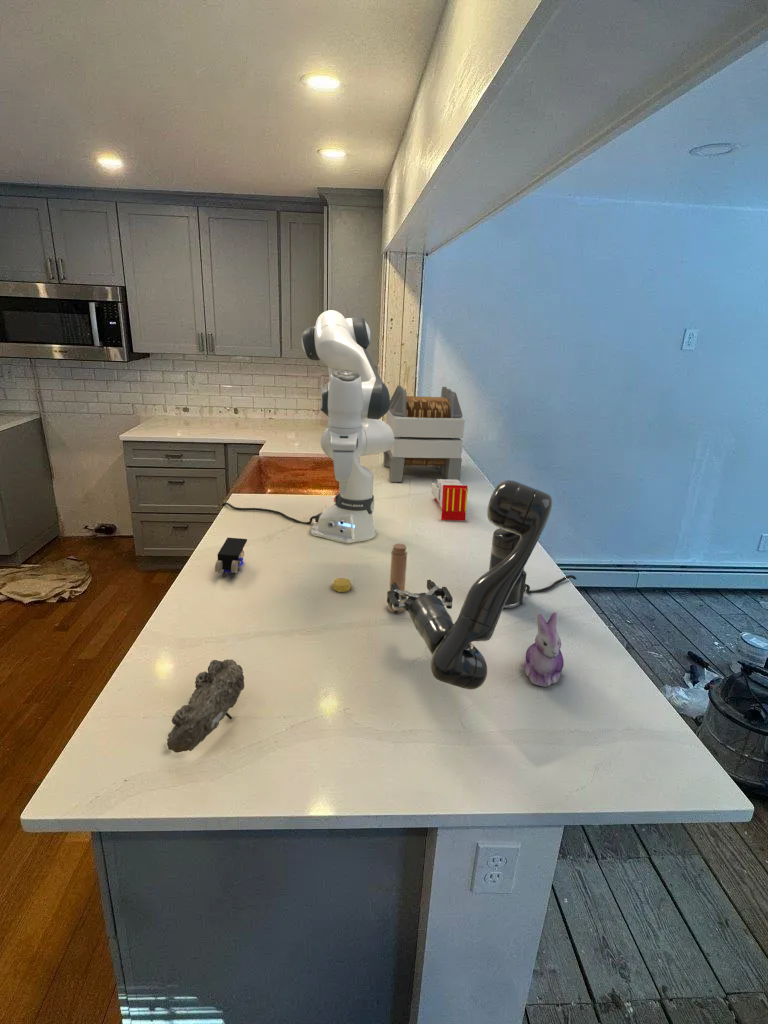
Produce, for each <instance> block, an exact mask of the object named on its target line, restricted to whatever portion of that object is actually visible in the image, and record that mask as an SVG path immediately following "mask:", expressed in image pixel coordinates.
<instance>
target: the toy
mask: <svg viewBox="0 0 768 1024" xmlns="http://www.w3.org/2000/svg"><path fill="white" fill-rule="evenodd" d="M468 489H469V488H468V485H465V484H464V483H462V482H461V480H460V481H459V480H451V479H445V478H437V479H436V484H435V482H432V485H431V495H432V496H434V500H435V502H436V503H437V504H438V505H439V507H440V508H441V513H440V514H441V515H440V520H441V521H457V522H458V521H461V522H465V521H466V517H467V506H468V505H467V504H468V493H469V491H468Z"/></svg>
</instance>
